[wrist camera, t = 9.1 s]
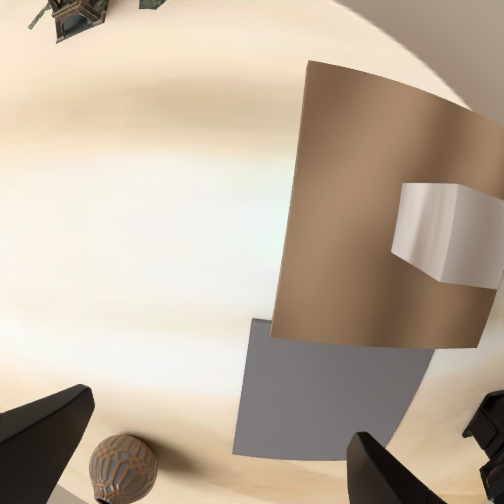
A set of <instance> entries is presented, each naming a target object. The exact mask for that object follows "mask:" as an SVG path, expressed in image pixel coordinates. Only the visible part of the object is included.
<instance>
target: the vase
mask: <svg viewBox="0 0 504 504" xmlns="http://www.w3.org/2000/svg"><path fill="white" fill-rule="evenodd" d="M89 473H90V478H91V481H92V485H93V488H94V498H95V500H96V501H97V502H98V503H99V504H130V503H133V502H136V501H138V500H140V499H142V498H143V497H145V496H146V495H147V494H148V493H149V492H150V490H151V489H152V488H153V486H154V483H155V481H156V477H157V461H156V458H155V456H154V454H153V452H152V451H151V449H150V448H149V447H148V446H147V445H146V444H145V443H144V442H143V441H141V440H139V439H137V438H135V437H133V436H129V435H115V436H111V437H109V438H106V439H105V440H103V441H102V442H101V443H100V444H99V445H98V446H97V447H96V449H95V450H94V452H93V454H92V456H91V459H90V464H89Z"/></svg>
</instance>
